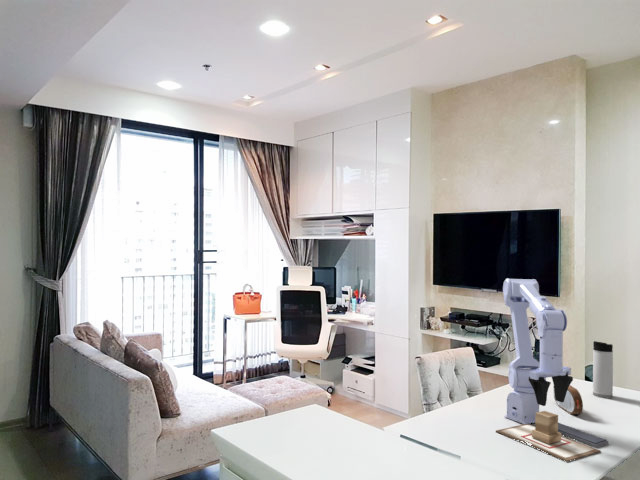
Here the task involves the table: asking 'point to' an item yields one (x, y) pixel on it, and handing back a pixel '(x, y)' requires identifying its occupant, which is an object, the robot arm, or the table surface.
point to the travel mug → (602, 369)
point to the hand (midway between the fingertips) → (550, 403)
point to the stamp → (546, 428)
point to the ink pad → (581, 436)
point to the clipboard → (560, 450)
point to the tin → (571, 401)
